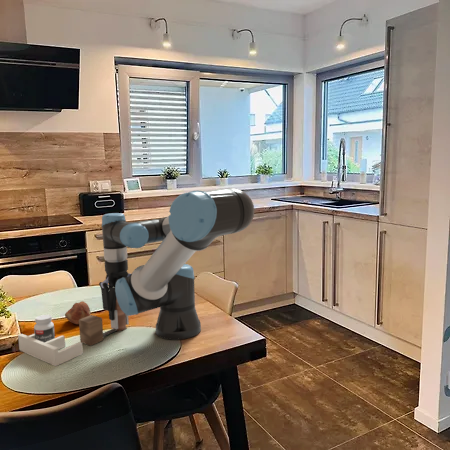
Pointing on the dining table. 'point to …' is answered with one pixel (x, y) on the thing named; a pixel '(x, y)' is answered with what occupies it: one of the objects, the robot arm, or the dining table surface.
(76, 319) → the fossil
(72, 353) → the white open tray
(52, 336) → the pill bottle
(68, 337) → the dining table surface
